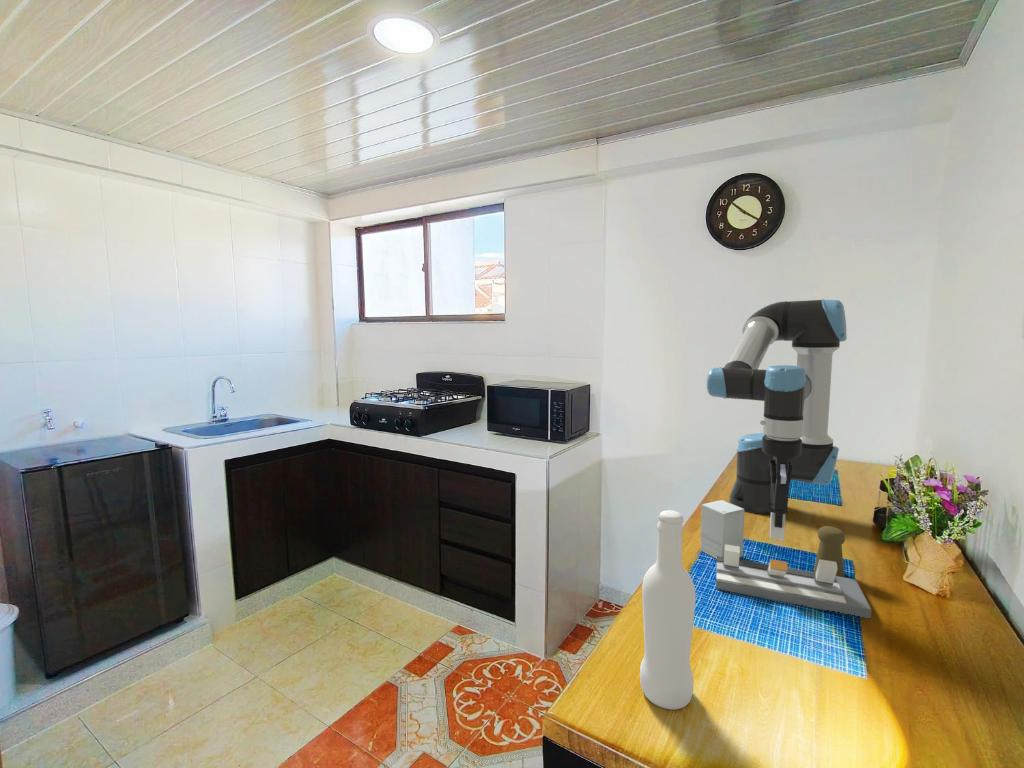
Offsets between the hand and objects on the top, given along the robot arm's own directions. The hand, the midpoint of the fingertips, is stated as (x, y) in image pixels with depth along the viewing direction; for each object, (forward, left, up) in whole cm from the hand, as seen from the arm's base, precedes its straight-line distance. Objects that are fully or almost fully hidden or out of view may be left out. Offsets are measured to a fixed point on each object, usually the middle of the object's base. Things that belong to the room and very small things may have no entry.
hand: (776, 538), depth 105 cm
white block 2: (+2, +9, -7) cm, 11 cm away
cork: (-9, +12, -10) cm, 18 cm away
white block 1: (+2, -9, -7) cm, 12 cm away
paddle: (+2, 0, -7) cm, 7 cm away
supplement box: (-10, -11, -10) cm, 18 cm away
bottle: (+43, -19, -10) cm, 49 cm away
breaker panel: (+2, +2, -10) cm, 11 cm away
